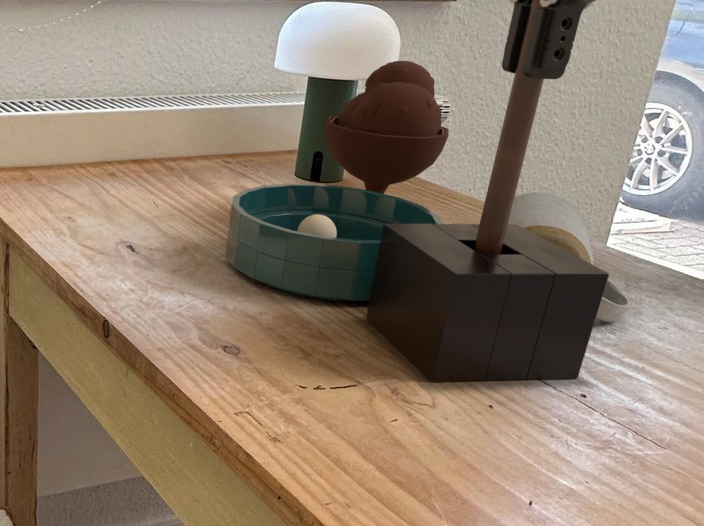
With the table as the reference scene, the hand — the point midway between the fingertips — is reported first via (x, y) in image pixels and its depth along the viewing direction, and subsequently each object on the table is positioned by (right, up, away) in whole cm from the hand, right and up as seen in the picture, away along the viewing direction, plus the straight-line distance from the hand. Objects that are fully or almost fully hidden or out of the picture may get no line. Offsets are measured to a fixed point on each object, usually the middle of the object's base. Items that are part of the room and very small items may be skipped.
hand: (530, 73), depth 51 cm
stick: (-1, -12, +5) cm, 13 cm away
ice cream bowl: (0, -5, +32) cm, 33 cm away
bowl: (-7, -10, +20) cm, 23 cm away
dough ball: (-7, -7, +21) cm, 24 cm away
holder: (-1, -16, +7) cm, 18 cm away
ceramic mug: (+8, -13, +15) cm, 22 cm away
